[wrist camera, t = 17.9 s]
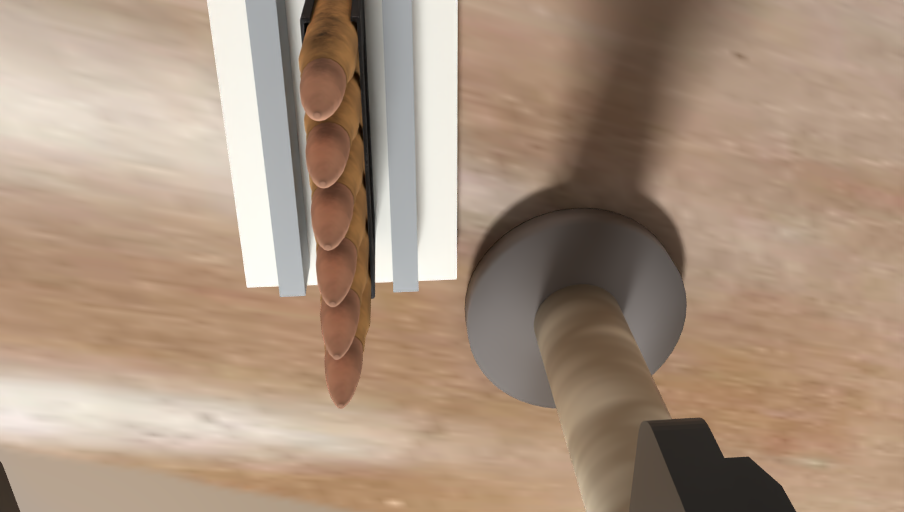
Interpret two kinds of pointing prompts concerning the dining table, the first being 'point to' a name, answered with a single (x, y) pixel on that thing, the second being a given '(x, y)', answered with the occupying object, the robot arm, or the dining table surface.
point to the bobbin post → (581, 334)
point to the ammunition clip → (339, 181)
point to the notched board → (391, 126)
